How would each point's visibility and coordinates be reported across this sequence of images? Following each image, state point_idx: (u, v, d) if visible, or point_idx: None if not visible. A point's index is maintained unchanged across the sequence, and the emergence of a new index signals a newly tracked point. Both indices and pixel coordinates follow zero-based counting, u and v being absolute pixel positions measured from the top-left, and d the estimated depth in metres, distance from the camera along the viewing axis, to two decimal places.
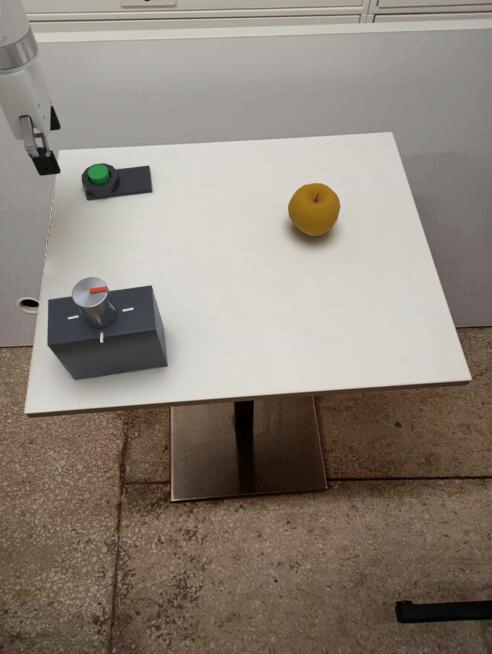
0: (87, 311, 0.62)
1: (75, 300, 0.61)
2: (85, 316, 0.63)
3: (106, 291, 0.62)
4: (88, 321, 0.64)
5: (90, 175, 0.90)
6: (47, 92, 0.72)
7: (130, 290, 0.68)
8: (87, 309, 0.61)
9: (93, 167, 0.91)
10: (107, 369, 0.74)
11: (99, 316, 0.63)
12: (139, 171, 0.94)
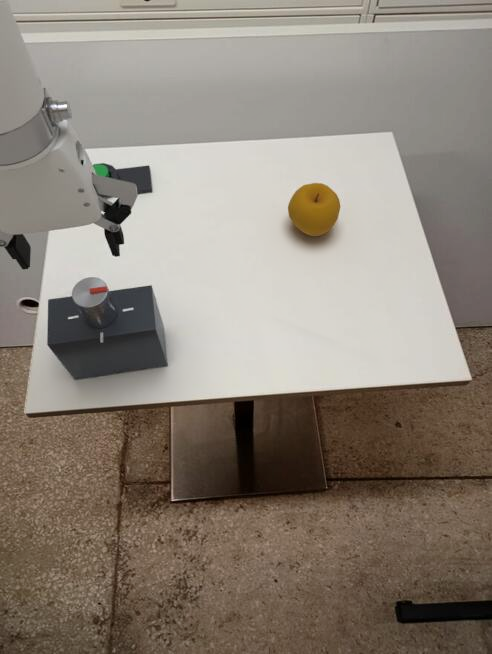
0: (87, 311, 0.62)
1: (75, 300, 0.61)
2: (85, 316, 0.63)
3: (106, 291, 0.62)
4: (88, 321, 0.64)
5: None
6: (70, 214, 0.47)
7: (130, 290, 0.68)
8: (87, 309, 0.61)
9: None
10: (107, 369, 0.74)
11: (99, 316, 0.63)
12: (139, 171, 0.94)
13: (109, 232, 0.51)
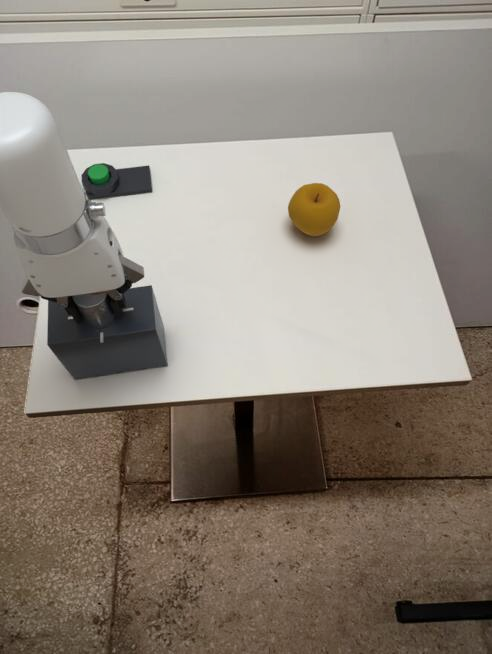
0: (87, 311, 0.62)
1: (75, 300, 0.61)
2: (85, 316, 0.63)
3: None
4: (88, 321, 0.64)
5: (90, 175, 0.90)
6: (100, 283, 0.57)
7: (130, 290, 0.68)
8: (87, 309, 0.61)
9: (93, 167, 0.91)
10: (107, 369, 0.74)
11: (99, 316, 0.63)
12: (139, 171, 0.94)
13: (113, 300, 0.62)
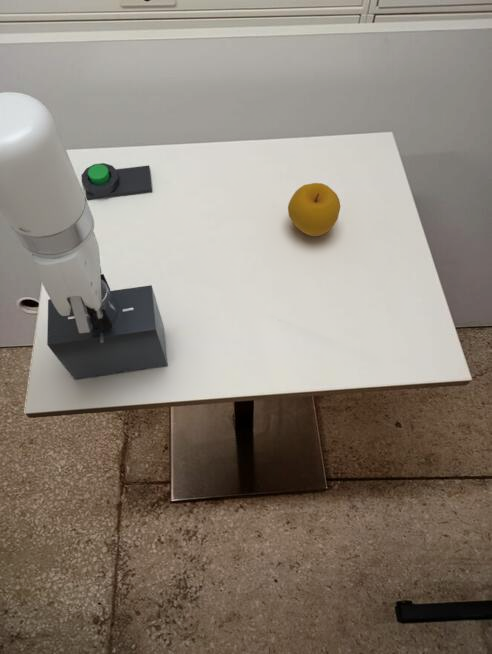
0: (109, 297, 0.62)
1: None
2: (109, 309, 0.64)
3: None
4: (112, 314, 0.65)
5: (90, 175, 0.90)
6: (97, 250, 0.59)
7: (130, 290, 0.68)
8: (108, 294, 0.62)
9: (93, 167, 0.91)
10: (107, 369, 0.74)
11: (111, 296, 0.64)
12: (139, 171, 0.94)
13: (101, 275, 0.64)
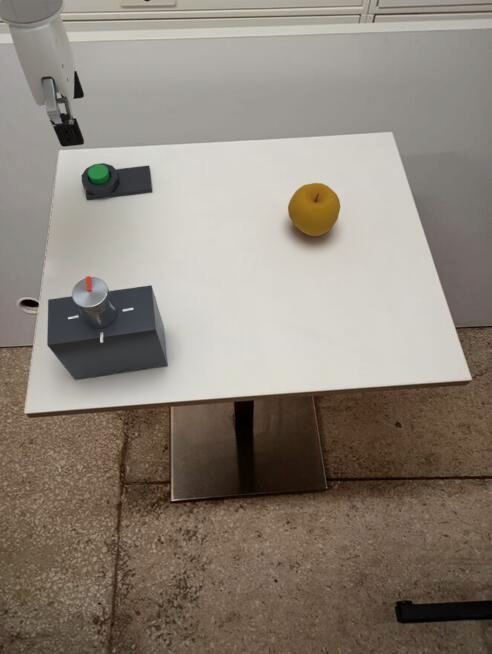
0: (109, 296, 0.63)
1: (99, 302, 0.61)
2: (110, 309, 0.64)
3: (91, 277, 0.63)
4: (112, 314, 0.65)
5: (90, 175, 0.90)
6: (71, 54, 0.66)
7: (130, 290, 0.68)
8: (108, 293, 0.62)
9: (93, 167, 0.91)
10: (107, 369, 0.74)
11: (111, 296, 0.64)
12: (139, 171, 0.94)
13: (74, 71, 0.71)
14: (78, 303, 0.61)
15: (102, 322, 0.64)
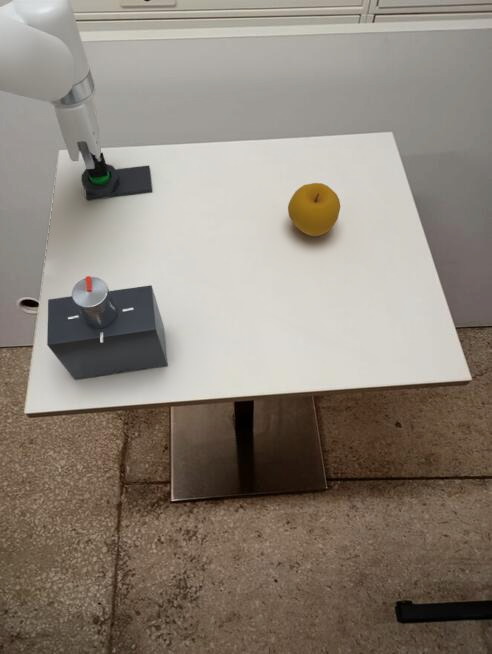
0: (109, 296, 0.63)
1: (99, 302, 0.61)
2: (110, 309, 0.64)
3: (91, 277, 0.63)
4: (112, 314, 0.65)
5: (91, 178, 0.90)
6: (97, 119, 0.84)
7: (130, 290, 0.68)
8: (108, 293, 0.62)
9: None
10: (107, 369, 0.74)
11: (111, 296, 0.64)
12: (139, 171, 0.94)
13: (100, 153, 0.88)
14: (78, 303, 0.61)
15: (102, 322, 0.64)
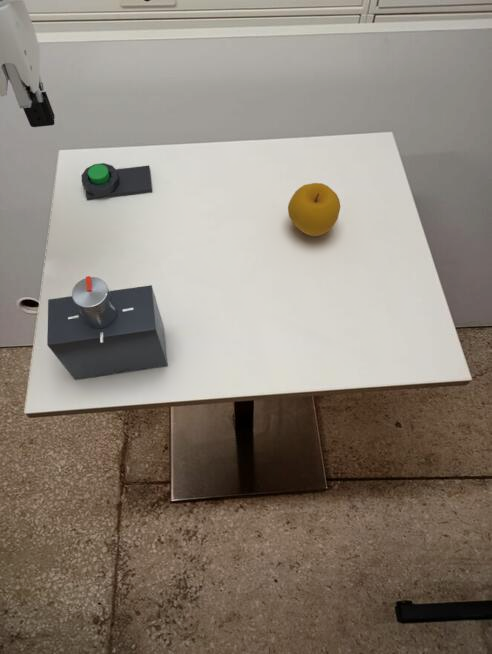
0: (109, 296, 0.63)
1: (99, 302, 0.61)
2: (110, 309, 0.64)
3: (91, 277, 0.63)
4: (112, 314, 0.65)
5: (90, 175, 0.90)
6: (36, 42, 0.62)
7: (130, 290, 0.68)
8: (108, 293, 0.62)
9: (93, 167, 0.91)
10: (107, 369, 0.74)
11: (111, 296, 0.64)
12: (139, 171, 0.94)
13: (43, 92, 0.66)
14: (78, 303, 0.61)
15: (102, 322, 0.64)
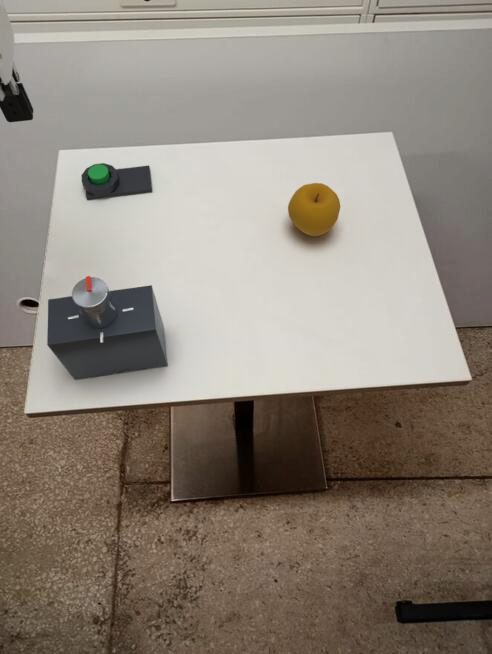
0: (109, 296, 0.63)
1: (99, 302, 0.61)
2: (110, 309, 0.64)
3: (91, 277, 0.63)
4: (112, 314, 0.65)
5: (90, 175, 0.90)
6: (9, 28, 0.56)
7: (130, 290, 0.68)
8: (108, 293, 0.62)
9: (93, 167, 0.91)
10: (107, 369, 0.74)
11: (111, 296, 0.64)
12: (139, 171, 0.94)
13: (19, 84, 0.59)
14: (78, 303, 0.61)
15: (102, 322, 0.64)
